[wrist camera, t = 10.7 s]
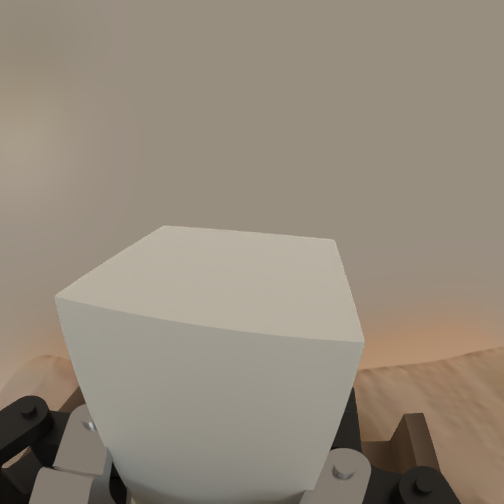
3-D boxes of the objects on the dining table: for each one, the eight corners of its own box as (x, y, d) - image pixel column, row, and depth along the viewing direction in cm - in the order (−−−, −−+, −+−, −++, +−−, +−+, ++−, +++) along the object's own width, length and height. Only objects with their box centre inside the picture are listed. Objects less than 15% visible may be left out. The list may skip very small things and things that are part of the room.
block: (284, 487, 12) (334, 239, 8) (272, 566, 7) (364, 341, 4) (191, 472, 12) (164, 225, 8) (163, 545, 8) (53, 295, 4)
